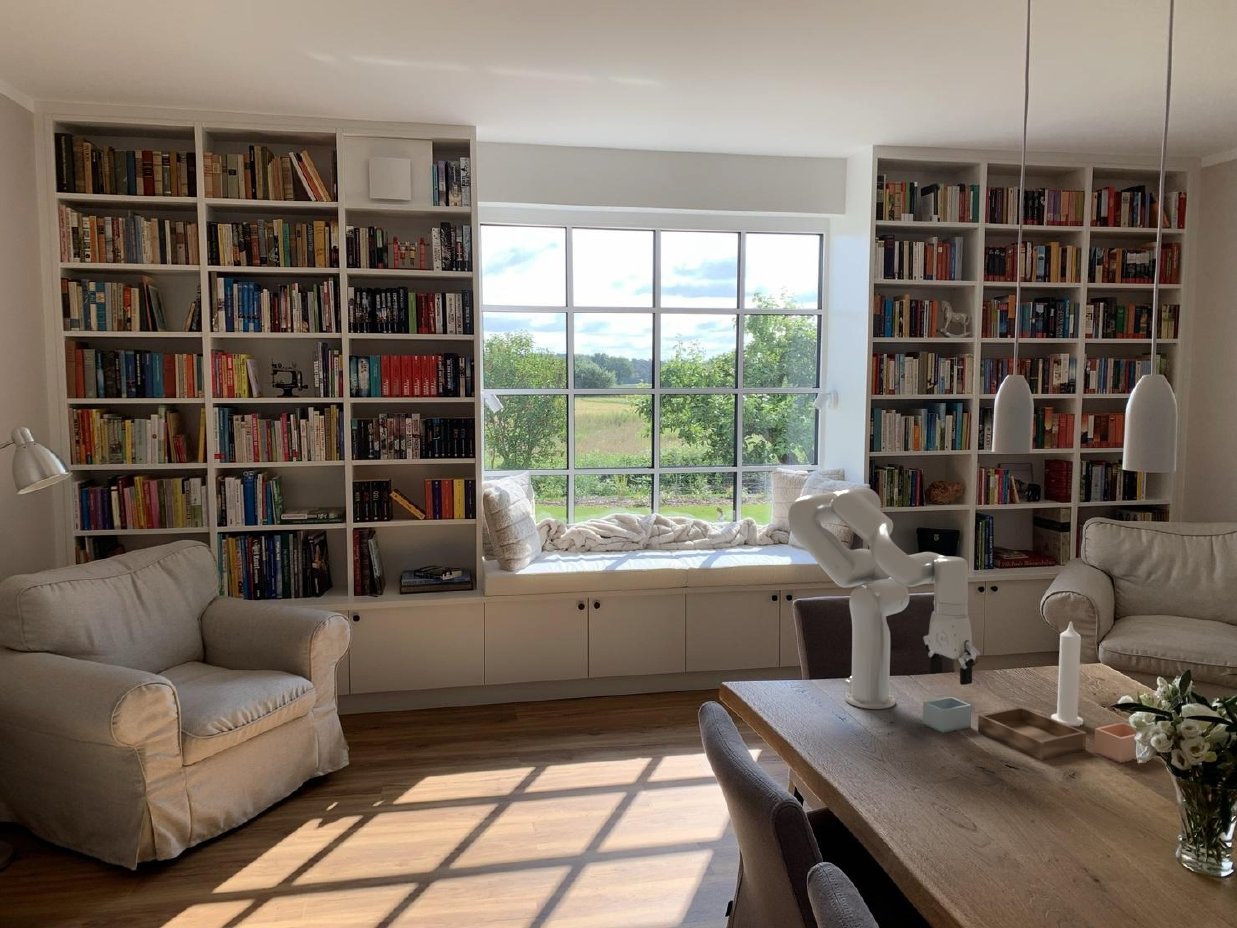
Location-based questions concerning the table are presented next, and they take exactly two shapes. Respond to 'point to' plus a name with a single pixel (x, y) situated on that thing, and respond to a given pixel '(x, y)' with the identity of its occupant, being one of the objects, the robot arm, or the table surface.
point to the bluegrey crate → (947, 714)
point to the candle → (1068, 678)
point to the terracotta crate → (1115, 742)
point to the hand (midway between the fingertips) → (950, 678)
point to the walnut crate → (1032, 732)
